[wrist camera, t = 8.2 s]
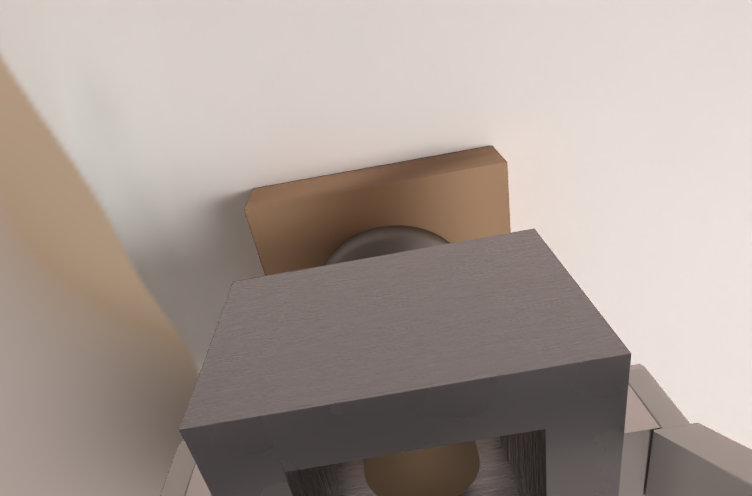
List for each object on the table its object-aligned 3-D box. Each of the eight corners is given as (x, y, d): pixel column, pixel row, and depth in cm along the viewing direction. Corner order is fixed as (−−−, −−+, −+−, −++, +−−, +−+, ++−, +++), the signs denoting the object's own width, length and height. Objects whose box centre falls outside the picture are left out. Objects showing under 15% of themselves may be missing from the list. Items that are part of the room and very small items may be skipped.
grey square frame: (534, 228, 11) (631, 353, 7) (539, 441, 14) (609, 604, 10) (232, 281, 11) (178, 429, 7) (304, 480, 14) (290, 653, 10)
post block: (492, 145, 14) (617, 284, 8) (504, 337, 18) (599, 549, 11) (253, 188, 15) (178, 359, 8) (308, 370, 18) (287, 598, 11)
